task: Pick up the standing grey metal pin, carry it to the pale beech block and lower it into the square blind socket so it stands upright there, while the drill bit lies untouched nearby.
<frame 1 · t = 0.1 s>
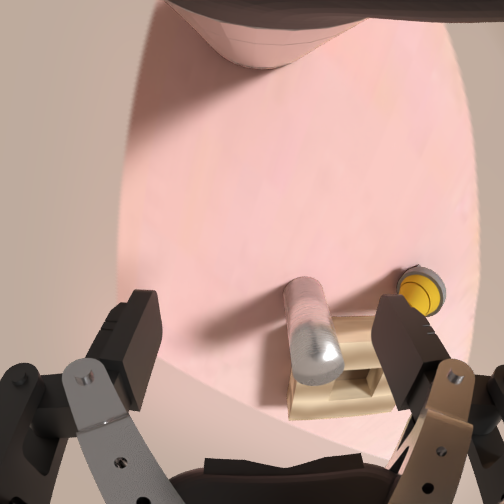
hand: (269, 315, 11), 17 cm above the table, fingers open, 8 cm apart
drill bit: (403, 284, 32), on the table
pin: (303, 293, 32), on the table
socket block: (349, 360, 37), on the table
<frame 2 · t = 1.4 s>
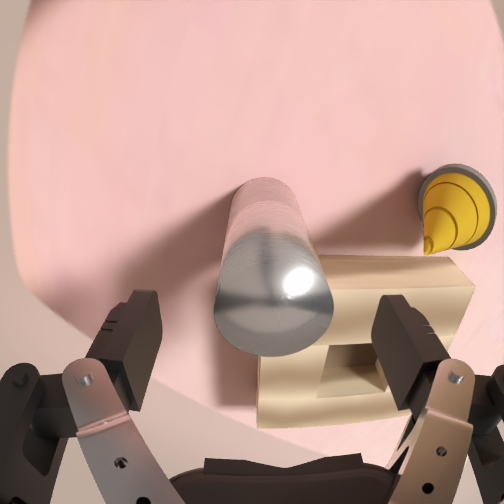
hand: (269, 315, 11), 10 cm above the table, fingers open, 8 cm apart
drill bit: (427, 202, 19), on the table
pin: (264, 209, 20), on the table
socket block: (348, 334, 24), on the table
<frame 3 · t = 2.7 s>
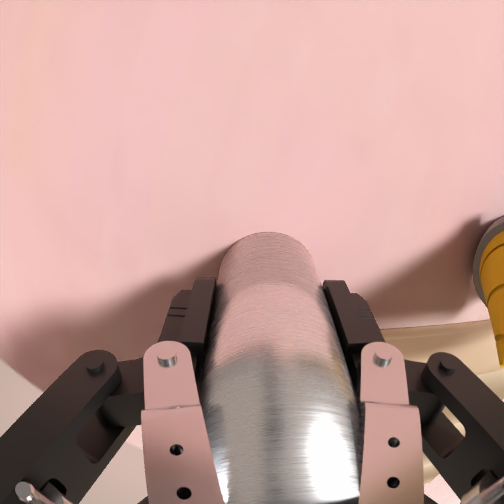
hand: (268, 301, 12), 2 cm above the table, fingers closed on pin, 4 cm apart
drill bit: (480, 257, 13), on the table
pin: (267, 276, 14), on the table, touching gripper
socket block: (367, 410, 18), on the table
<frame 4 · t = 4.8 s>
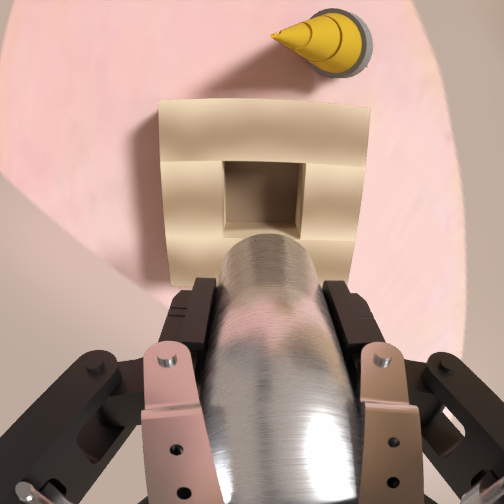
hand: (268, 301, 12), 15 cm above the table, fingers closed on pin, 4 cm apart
drill bit: (317, 53, 21), on the table
pin: (267, 277, 14), point 14 cm above the table, touching gripper
socket block: (261, 186, 26), on the table
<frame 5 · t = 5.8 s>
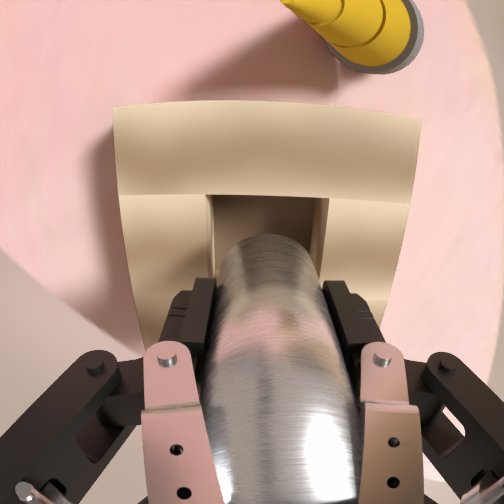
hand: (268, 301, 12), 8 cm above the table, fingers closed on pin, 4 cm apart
drill bit: (341, 40, 15), on the table
pin: (267, 277, 14), point 6 cm above the table, touching gripper
socket block: (262, 221, 19), on the table
when the fingers open (5 cm above the table, at t = 6.8 s): pin drops 2 cm, resting on socket block.
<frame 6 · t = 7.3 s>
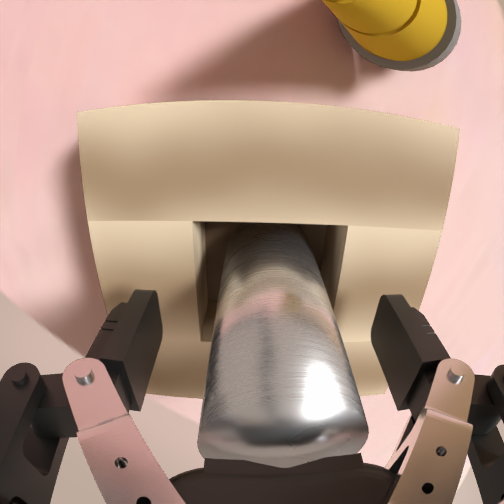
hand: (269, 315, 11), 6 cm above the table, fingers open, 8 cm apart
drill bit: (358, 30, 12), on the table
pin: (268, 254, 15), point 1 cm above the table, touching socket block
socket block: (264, 246, 16), on the table
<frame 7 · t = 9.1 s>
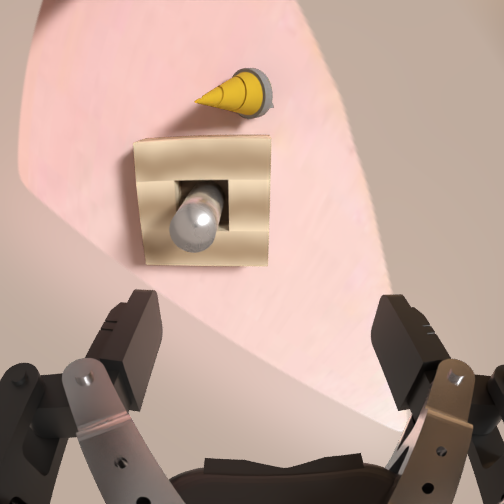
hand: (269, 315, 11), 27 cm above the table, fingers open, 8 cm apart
drill bit: (241, 99, 32), on the table
pin: (207, 197, 36), point 1 cm above the table, touching socket block
socket block: (206, 195, 37), on the table
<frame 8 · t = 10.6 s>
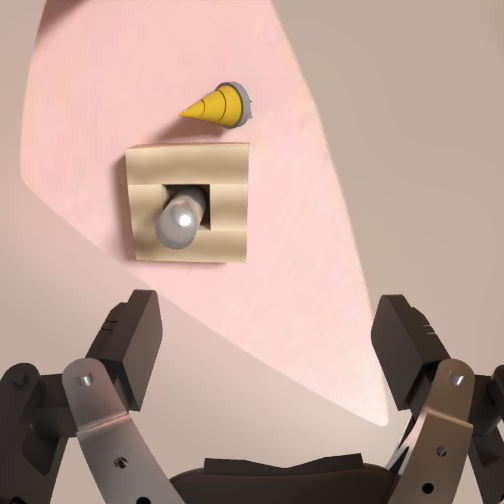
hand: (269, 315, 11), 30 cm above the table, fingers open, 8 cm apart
drill bit: (224, 109, 36), on the table
pin: (192, 199, 40), point 1 cm above the table, touching socket block
socket block: (192, 197, 40), on the table
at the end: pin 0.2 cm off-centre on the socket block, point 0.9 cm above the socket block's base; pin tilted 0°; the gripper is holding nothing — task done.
